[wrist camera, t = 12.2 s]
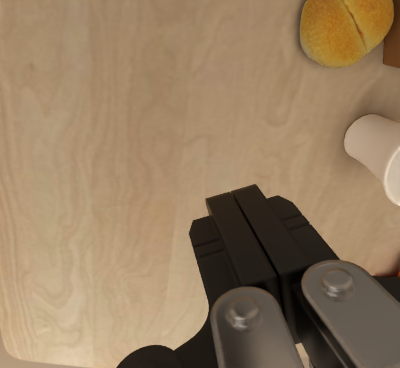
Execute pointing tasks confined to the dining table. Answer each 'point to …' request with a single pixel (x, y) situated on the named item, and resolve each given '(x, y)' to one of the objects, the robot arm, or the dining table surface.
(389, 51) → the box
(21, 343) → the dining table surface
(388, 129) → the cup
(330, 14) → the bread roll
